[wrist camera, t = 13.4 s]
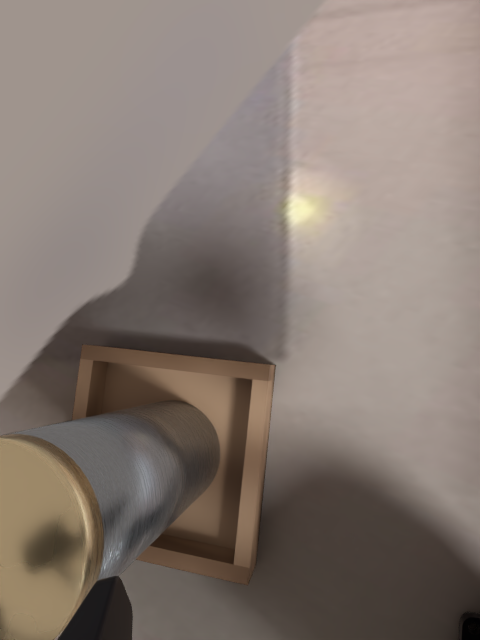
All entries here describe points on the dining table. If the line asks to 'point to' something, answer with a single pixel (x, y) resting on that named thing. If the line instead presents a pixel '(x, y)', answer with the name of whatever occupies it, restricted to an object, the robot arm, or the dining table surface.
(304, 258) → the dining table surface
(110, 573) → the tea tin
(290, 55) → the dining table surface
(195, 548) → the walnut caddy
